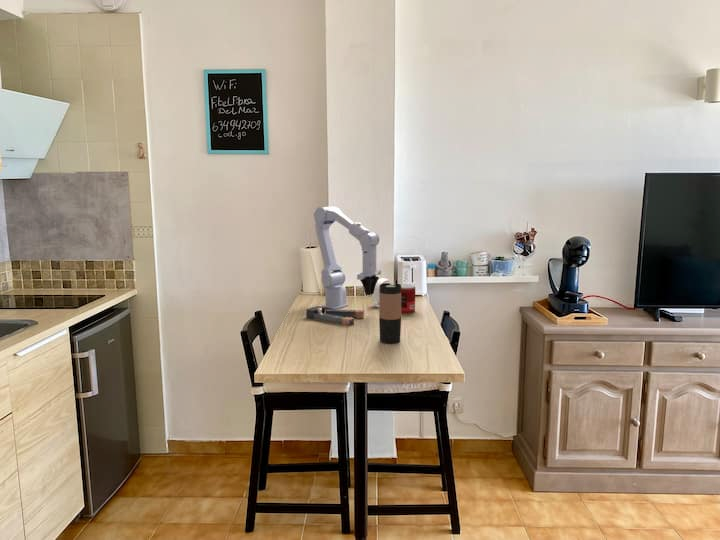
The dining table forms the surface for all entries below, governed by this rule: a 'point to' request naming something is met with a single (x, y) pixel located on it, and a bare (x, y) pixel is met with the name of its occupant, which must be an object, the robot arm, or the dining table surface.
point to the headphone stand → (377, 289)
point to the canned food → (407, 298)
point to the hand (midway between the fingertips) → (369, 294)
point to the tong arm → (346, 313)
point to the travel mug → (390, 313)
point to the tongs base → (328, 316)
